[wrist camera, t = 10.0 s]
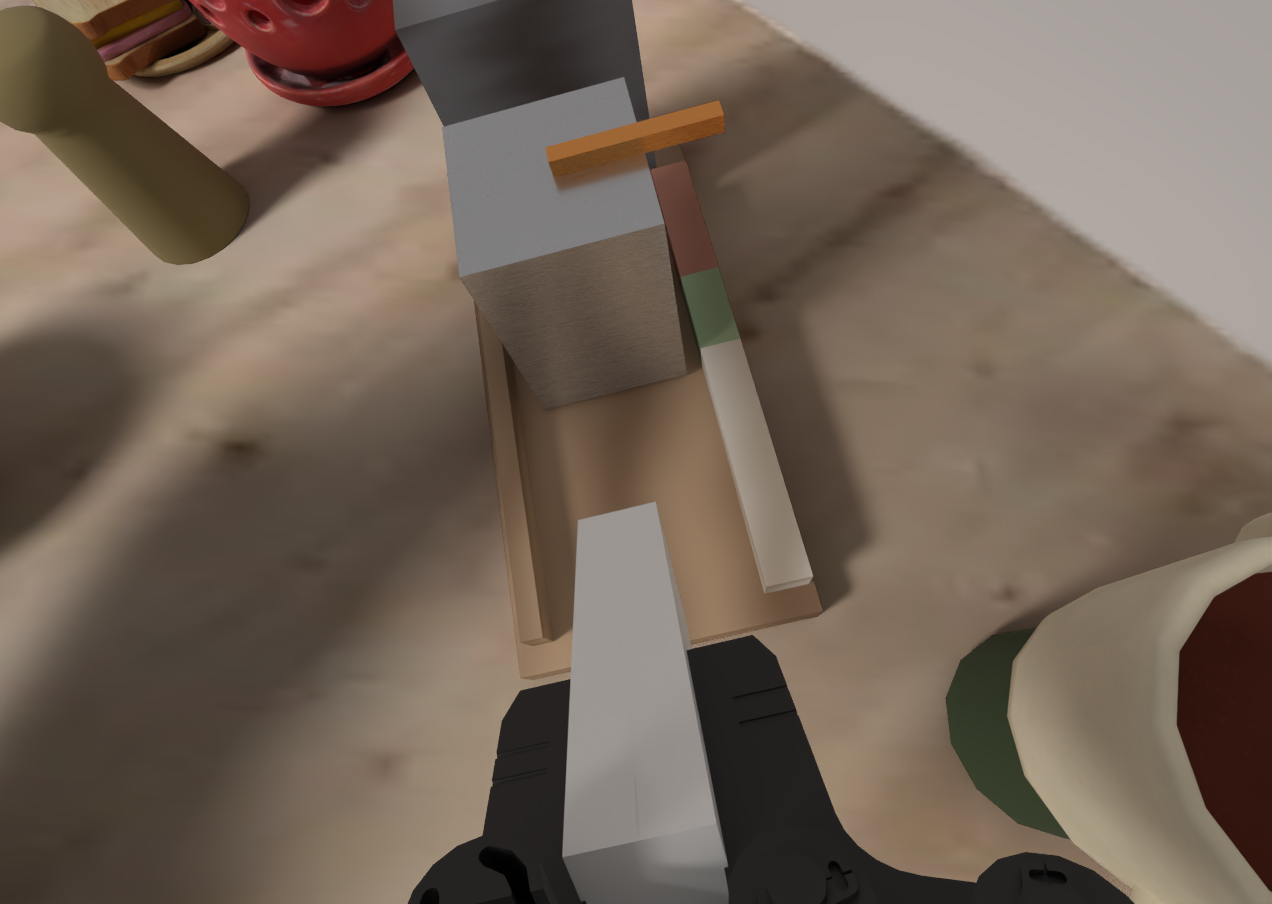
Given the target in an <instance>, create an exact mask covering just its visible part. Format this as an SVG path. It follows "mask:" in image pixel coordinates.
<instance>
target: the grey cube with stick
mask: <svg viewBox="0 0 1272 904" xmlns="http://www.w3.org/2000/svg"><path fill="white" fill-rule="evenodd" d="M442 129H443V138H444V147H445V155H446V164H447V173H448V182H449V190H450V199H451V208H452V217H453V225H454V234H455V243H456V252H457V260H458V269H459V277H460V279H461V280H462V282H463V284H464V285H465V287H466V288H467V290H468V291H469V293H470V294H471V296H472V297H473V299H474V301H475V302H476V304H477V305H478V307H479V308H480V310H481V311H482V313H483V314H484V316H485V318H486V319H487V321H488V322H489V324H490V325H491V327H492V328H493V330H494V331H495V333H496V335H497V336H498V338H499V339H500V341H501V342H502V344H503V345H504V347H505V349H506V350H507V352H508V353H509V355H510V356H511V358H512V359H513V361H514V362H515V364H516V366H517V367H518V369H519V370H520V372H521V373H522V375H523V376H524V378H525V379H526V381H527V383H528V384H529V386H530V387H531V389H532V390H533V392H534V393H535V395H536V396H537V398H538V400H539V401H540V403H541V404H542V406H543V407H544V409H545V410H546V409H550V408H554V407H558V406H563V405H567V404H571V403H575V402H579V401H583V400H587V399H591V398H595V397H599V396H603V395H607V394H611V393H615V392H619V391H623V390H627V389H631V388H635V387H639V386H643V385H647V384H651V383H655V382H659V381H663V380H668V379H672V378H676V377H680V376H684V375H687V371H686V365H685V358H684V351H683V345H682V338H681V331H680V325H679V318H678V311H677V304H676V298H675V291H674V284H673V278H672V271H671V264H670V258H669V251H668V244H667V238H666V231H665V224H664V220H663V217H662V213H661V209H660V206H659V202H658V198H657V195H656V191H655V188H654V184H653V180H652V177H651V173H650V169H649V166H648V162H647V159H646V155H645V153H648V152H651V151H655V150H659V149H663V148H666V147H670V146H674V145H677V144H681V143H685V142H689V141H692V140H696V139H700V138H704V137H707V136H711V135H715V134H718V133H722V132H725V129H724V113H723V110H722V107H721V104H720V101H719V100H717V101H714V102H710V103H706V104H703V105H699V106H695V107H692V108H688V109H684V110H681V111H677V112H673V113H669V114H666V115H662V116H658V117H655V118H651V119H647V120H644V121H640V122H636V119H635V115H634V111H633V108H632V104H631V100H630V97H629V93H628V90H627V86H626V82H625V79H624V77H622V78H618V79H615V80H611V81H607V82H604V83H600V84H597V85H593V86H589V87H586V88H582V89H579V90H575V91H571V92H568V93H564V94H560V95H557V96H553V97H550V98H546V99H542V100H539V101H535V102H532V103H528V104H524V105H521V106H517V107H513V108H510V109H506V110H503V111H499V112H495V113H492V114H488V115H485V116H481V117H477V118H474V119H470V120H466V121H463V122H459V123H456V124H452V125H448V126H445V127H442Z"/></svg>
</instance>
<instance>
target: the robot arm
mask: <svg viewBox="0 0 1272 904" xmlns="http://www.w3.org/2000/svg"><path fill="white" fill-rule="evenodd" d="M492 781H493V787H491V789H490V795H489V801H488V807H487V813H486V819H485V825H484V830H483V836H481V837H478V838H476V839H473V840H471V841H468V842H466V843H463V844H461V845H459V846H457V847H455V848H454V849H453V850H452V851H450V852H449V853H448V854H446V855H445V856H444V857H443V858H441V859H440V860H439V861H437V862H436V863H435V864H434V865H433V866H432V867H431V868H430V870H429V871H428V872H427V873H426V875H425V876H424V877H423V879H422V880H421V881H420V882H419V884H418V885H417V886H416V888H415V889H414V890H413V892H412V895H411V897H410V899H409V902H408V904H1135V903H1134V902H1133V901H1132V900H1131V899H1130V898H1129V897H1128V896H1126V895H1125V894H1124V893H1122V892H1121V891H1120V890H1119V889H1117V888H1116V887H1115V886H1113V885H1112V884H1111V883H1109V882H1108V881H1107V880H1105V879H1104V878H1103V877H1101V876H1100V875H1099V874H1097V873H1096V872H1095V871H1093V870H1091V869H1088V868H1086V867H1084V866H1081V865H1079V864H1076V863H1074V862H1072V861H1069V860H1067V859H1065V858H1062V857H1060V856H1054V855H1046V854H1037V853H1028V852H1024V853H1020V854H1017V855H1013V856H1009V857H1005V858H1001V859H998V860H997V861H995V862H994V863H993V864H992V865H991V866H990V867H989V868H988V869H987V870H986V871H984V872H983V873H982V874H981V875H980V876H979V877H978V880H977V883H974V882H966V881H959V880H951V879H943V878H935V877H928V876H921V875H916V874H912V873H908V872H904V871H900V870H897V869H895V868H893V867H890V866H888V865H886V864H884V863H882V862H880V861H878V860H876V859H875V858H873V857H872V856H871V855H869V854H868V853H867V852H865V851H864V850H863V849H861V848H860V847H859V846H858V845H857V844H856V843H855V842H854V841H853V840H852V838H851V837H850V836H849V835H848V834H847V833H846V831H845V830H844V829H843V827H842V825H841V823H840V821H839V819H838V817H837V815H836V813H835V811H834V808H833V806H832V803H831V800H830V798H829V795H828V792H827V790H826V787H825V785H824V782H823V779H822V777H821V774H820V771H819V769H818V766H817V763H816V761H815V758H814V755H813V753H812V750H811V748H810V745H809V742H808V740H807V737H806V734H805V732H804V729H803V726H802V724H801V721H800V718H799V716H798V715H797V711H796V708H795V705H794V703H793V700H792V697H791V695H790V692H789V691H788V688H787V684H786V682H785V679H784V676H783V674H782V671H781V668H780V666H779V663H778V660H777V658H776V656H775V655H774V654H773V653H772V652H771V651H770V650H769V649H768V648H766V647H765V646H764V645H763V644H762V643H761V642H760V641H759V640H758V639H757V638H755V637H754V636H753V635H751V636H747V637H742V638H738V639H733V640H729V641H725V642H720V643H716V644H712V645H707V646H703V647H699V648H694V649H692V648H691V644H690V639H689V634H688V629H687V624H686V619H685V615H684V611H683V607H682V603H681V599H680V595H679V591H678V587H677V584H676V580H675V576H674V572H673V568H672V564H671V560H670V556H669V552H668V548H667V544H666V540H665V536H664V532H663V528H662V524H661V521H660V517H659V513H658V509H657V505H656V502H652V503H648V504H644V505H640V506H635V507H631V508H627V509H623V510H619V511H614V512H610V513H606V514H602V515H598V516H593V517H589V518H585V519H581V520H578V531H577V553H576V574H575V595H574V617H573V638H572V660H571V679H569V680H565V681H561V682H556V683H552V684H547V685H543V686H539V687H534V688H530V689H526V690H521V691H520V692H519V693H518V695H517V697H516V698H515V700H514V702H513V703H512V705H511V707H510V708H509V710H508V712H507V713H506V715H505V717H504V718H503V720H502V724H501V730H500V736H499V742H498V748H497V759H495V765H494V771H493V777H492Z"/></svg>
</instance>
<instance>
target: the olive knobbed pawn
mask: <svg viewBox="0 0 1272 904" xmlns="http://www.w3.org/2000/svg"><path fill="white" fill-rule="evenodd" d="M0 122H2V123H4V124H6V125H8V126H10V127H11V128H13V129H15V130H18V131H23V132H27V133H32V134H35V135H36V136H37V137H38V138H39V139H40V140H41V141H42V142H43V143H44V144H45V145H46V146H47V147H48V148H49V149H50V150H51V151H52V152H53V153H54V154H55V155H56V156H57V157H58V158H59V159H60V160H61V161H62V162H63V163H64V164H65V165H66V166H67V167H68V168H69V169H70V170H71V171H72V172H73V173H74V174H75V175H76V176H77V177H78V178H79V179H80V180H81V181H82V182H83V183H84V184H85V185H86V186H87V187H88V188H89V189H90V190H91V191H92V192H93V193H94V194H95V195H96V196H97V197H98V198H99V199H100V200H101V201H102V202H103V203H104V204H105V205H106V206H107V207H108V208H109V209H110V210H111V211H112V212H113V213H114V214H115V215H116V216H117V217H118V218H119V220H120V221H121V222H122V223H123V224H124V225H125V226H126V227H127V228H128V229H129V230H130V231H131V232H132V233H133V234H134V235H135V236H136V237H137V238H138V239H139V240H140V241H141V242H142V243H143V244H144V245H145V246H146V247H147V248H148V249H149V250H150V251H151V252H152V253H153V254H154V255H156V256H157V257H158V258H160V259H161V260H162V261H164V262H168V263H172V264H176V265H180V264H191V263H195V262H198V261H201V260H203V259H206V258H209V257H211V256H212V255H214V254H215V253H217V252H219V251H220V250H222V249H223V248H225V247H226V246H227V245H228V244H229V243H230V242H231V241H232V240H233V239H234V238H235V237H236V236H237V235H238V233H239V231H240V230H241V228H242V226H243V225H244V223H245V222H246V218H247V215H248V211H249V199H248V195H247V193H246V191H245V190H244V188H243V186H242V185H240V184H239V183H238V182H237V181H235V180H234V179H233V178H232V177H231V176H229V175H228V174H227V173H226V172H224V171H223V170H222V169H221V168H220V167H218V166H217V165H216V164H215V163H213V162H212V161H211V160H210V159H208V158H207V157H206V156H205V155H204V154H202V153H201V152H200V151H199V150H197V149H196V148H195V147H194V146H193V145H191V144H190V143H189V142H188V141H186V140H185V139H184V138H183V137H181V136H180V135H179V134H178V133H177V132H175V131H174V130H173V129H172V128H170V127H169V126H168V125H167V124H166V123H164V122H163V121H162V120H161V119H159V118H158V117H157V116H156V115H155V114H153V113H152V112H151V111H150V110H148V109H147V108H146V107H145V106H143V105H142V104H141V103H140V102H139V101H137V100H136V99H135V98H134V97H132V96H131V95H130V94H129V93H128V92H126V91H125V90H124V89H123V88H121V87H120V86H119V85H118V84H116V83H115V82H114V81H113V80H112V79H110V78H109V76H108V72H107V67H106V65H105V63H104V61H103V59H102V57H101V56H100V54H99V53H98V51H97V49H96V48H95V46H94V45H93V43H92V42H91V41H90V40H89V39H88V38H87V37H86V36H85V35H84V34H83V33H82V31H81V30H80V29H78V28H77V27H75V26H74V25H73V24H71V23H70V22H68V21H67V20H66V19H64V18H62V17H61V16H59V15H57V14H55V13H53V12H51V11H48V10H46V9H44V8H41V7H35V6H17V7H11V8H7V9H4V10H1V11H0Z"/></svg>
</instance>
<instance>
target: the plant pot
mask: <svg viewBox="0 0 1272 904" xmlns="http://www.w3.org/2000/svg"><path fill="white" fill-rule="evenodd" d="M189 1H190V2H191V3H192V4H193V5H194V6H195V7H196V8H197V9H198V10H199V11H200V12H201V13H202V14H203V15H204V16H205V17H206V18H207V19H208V20H209V21H210V22H211V23H213V24H214V25H215V26H216V27H217V28H218V29H220V30H221V31H222V32H223V33H225V34H226V35H227V36H228V37H230V38H231V39H232V40H234V41H235V42H236V43H238V44H239V45H241V46H242V47H243V48H245V50H246V56H247V60H248V63H249V65H250V67H251V69H252V71H253V72H254V74H255V75H256V76H257V78H258V79H259V80H260V81H261V82H262V83H263V84H264V85H265V86H266V87H267V88H269V89H270V90H271V91H273V92H274V93H276V94H277V95H279V96H281V97H283V98H286V99H288V100H291V101H294V102H297V103H300V104H305V105H311V106H337V105H345V104H350V103H354V102H358V101H361V100H365V99H367V98H370V97H373V96H375V95H377V94H379V93H381V92H383V91H385V90H387V89H389V88H390V87H392V86H393V85H395V84H396V83H398V82H399V81H400V80H401V79H403V78H404V77H405V76H406V75H407V74H408V73H409V72H411V71H412V70H413V69H414V66H413V64H412V62H411V60H410V58H409V56H408V54H407V52H406V50H405V48H404V46H403V44H402V43H401V41H400V39H399V37H398V35H397V33H396V31H395V22H394V10H393V0H189Z"/></svg>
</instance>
